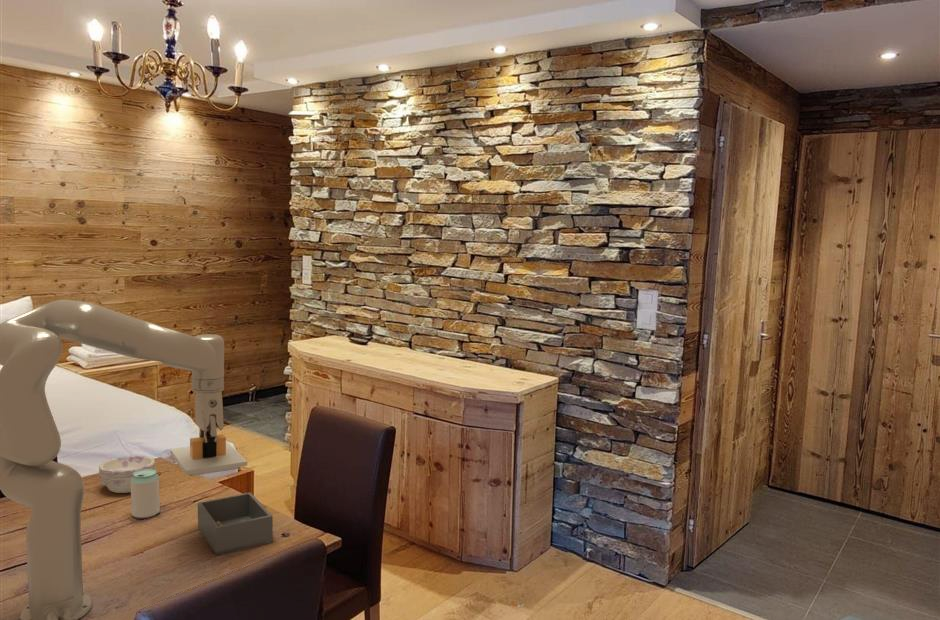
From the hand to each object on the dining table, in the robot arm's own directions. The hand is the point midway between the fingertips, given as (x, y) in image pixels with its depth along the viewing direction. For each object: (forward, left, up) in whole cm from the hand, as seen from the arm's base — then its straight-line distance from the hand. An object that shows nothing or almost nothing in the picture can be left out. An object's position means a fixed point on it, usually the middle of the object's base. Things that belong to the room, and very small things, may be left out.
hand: (207, 454), depth 171 cm
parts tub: (-1, -6, -23) cm, 23 cm away
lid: (0, 0, -2) cm, 2 cm away
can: (+24, +11, -23) cm, 35 cm away
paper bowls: (+47, +12, -23) cm, 54 cm away
